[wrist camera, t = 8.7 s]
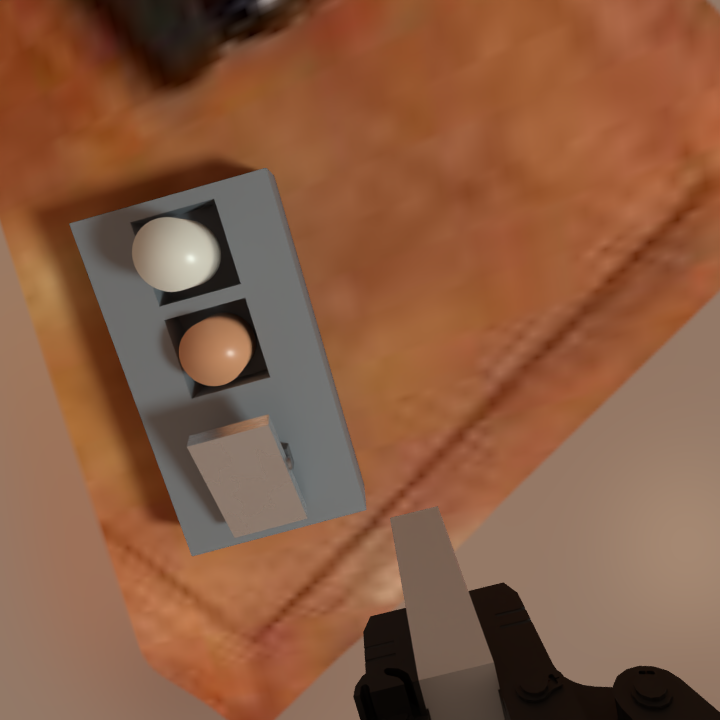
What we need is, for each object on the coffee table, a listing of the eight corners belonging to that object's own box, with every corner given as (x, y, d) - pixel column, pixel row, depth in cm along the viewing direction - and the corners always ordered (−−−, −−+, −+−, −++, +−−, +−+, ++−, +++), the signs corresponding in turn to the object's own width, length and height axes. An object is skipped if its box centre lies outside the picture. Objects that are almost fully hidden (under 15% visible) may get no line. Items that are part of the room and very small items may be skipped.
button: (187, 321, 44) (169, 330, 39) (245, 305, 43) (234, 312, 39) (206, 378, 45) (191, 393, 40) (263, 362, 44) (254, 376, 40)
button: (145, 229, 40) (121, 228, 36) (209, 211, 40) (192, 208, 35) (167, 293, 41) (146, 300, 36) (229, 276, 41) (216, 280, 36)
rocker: (187, 432, 39) (183, 447, 38) (271, 409, 39) (271, 424, 38) (233, 521, 44) (232, 538, 42) (309, 501, 44) (310, 517, 42)
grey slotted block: (96, 225, 44) (60, 223, 38) (273, 175, 43) (263, 165, 38) (205, 527, 49) (188, 564, 43) (364, 485, 49) (366, 517, 43)
